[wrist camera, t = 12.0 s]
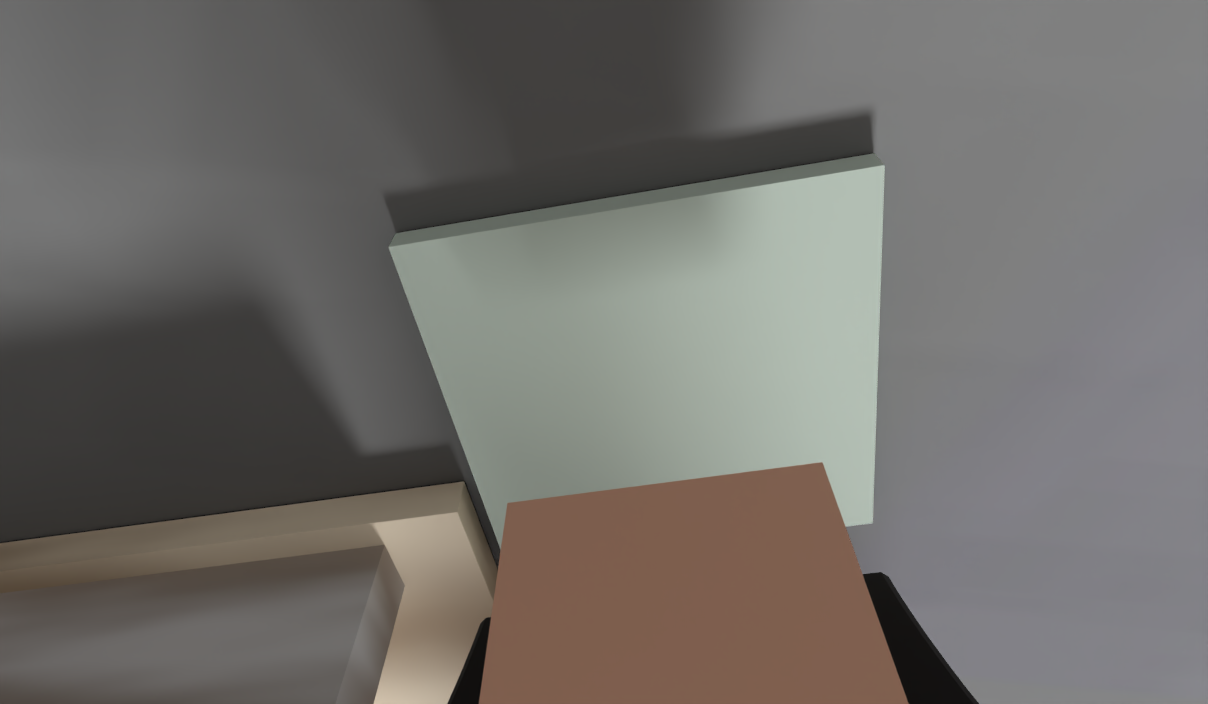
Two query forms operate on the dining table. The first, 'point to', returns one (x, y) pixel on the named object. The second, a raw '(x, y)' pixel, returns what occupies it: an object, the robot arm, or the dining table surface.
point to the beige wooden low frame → (252, 605)
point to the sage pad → (661, 334)
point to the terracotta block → (686, 598)
